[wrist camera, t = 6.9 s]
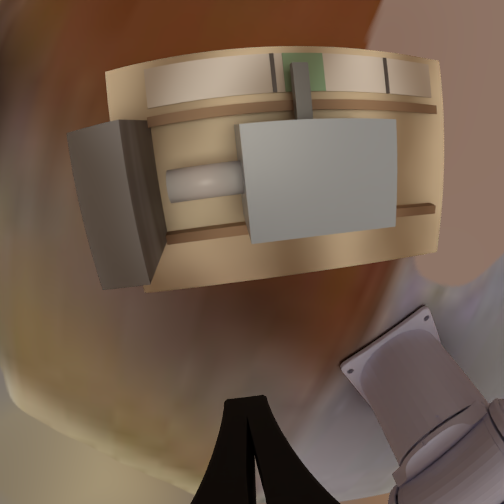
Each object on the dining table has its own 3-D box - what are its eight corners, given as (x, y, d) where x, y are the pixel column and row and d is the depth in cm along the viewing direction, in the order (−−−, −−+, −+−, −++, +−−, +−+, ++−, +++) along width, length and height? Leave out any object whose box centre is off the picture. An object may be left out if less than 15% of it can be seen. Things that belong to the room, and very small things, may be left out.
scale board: (427, 63, 14) (498, 53, 9) (427, 245, 19) (485, 288, 13) (112, 75, 13) (59, 54, 8) (149, 282, 18) (124, 350, 12)
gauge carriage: (351, 68, 13) (390, 55, 10) (357, 202, 16) (395, 226, 12) (163, 80, 13) (144, 65, 9) (182, 222, 15) (172, 254, 12)
